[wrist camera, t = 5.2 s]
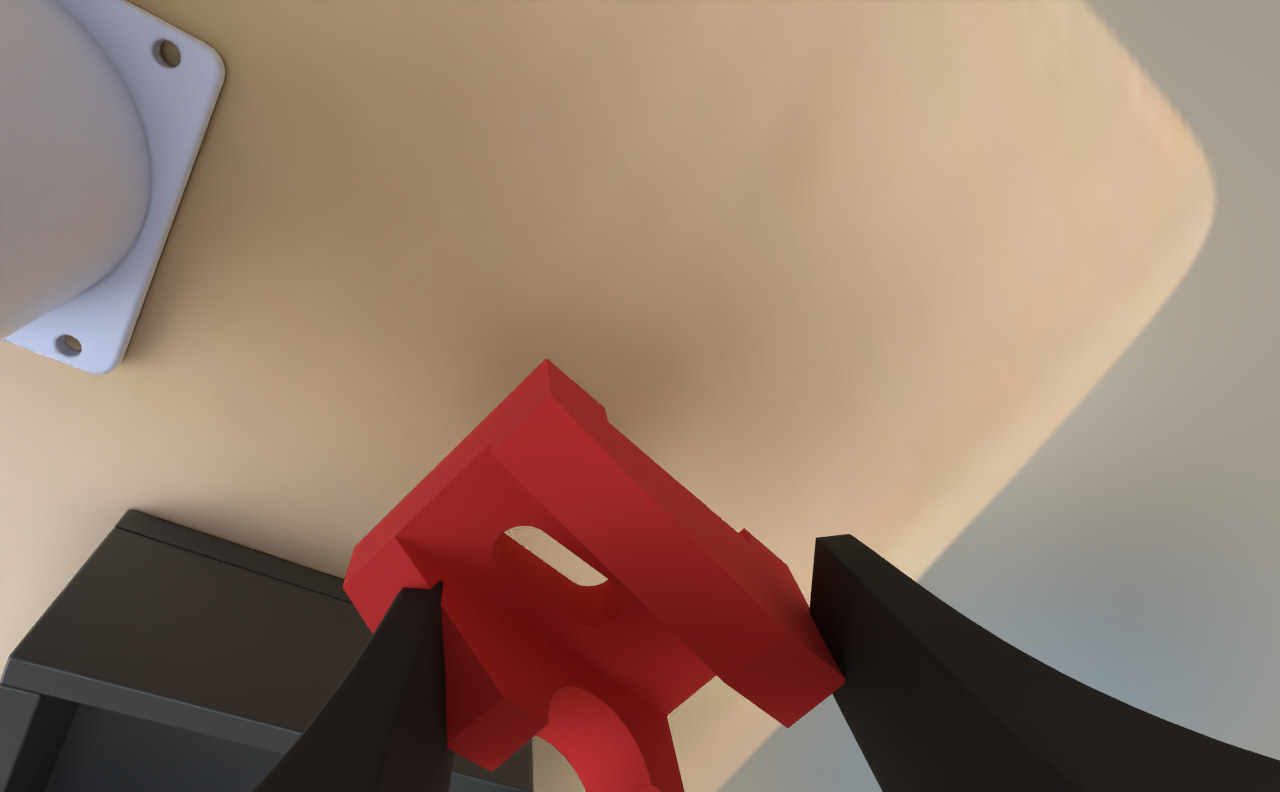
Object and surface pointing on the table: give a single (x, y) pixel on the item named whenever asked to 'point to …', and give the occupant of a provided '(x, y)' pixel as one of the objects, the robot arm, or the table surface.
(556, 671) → the bracket
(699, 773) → the table surface
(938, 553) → the table surface
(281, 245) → the table surface
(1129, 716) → the robot arm
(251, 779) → the dark open box
